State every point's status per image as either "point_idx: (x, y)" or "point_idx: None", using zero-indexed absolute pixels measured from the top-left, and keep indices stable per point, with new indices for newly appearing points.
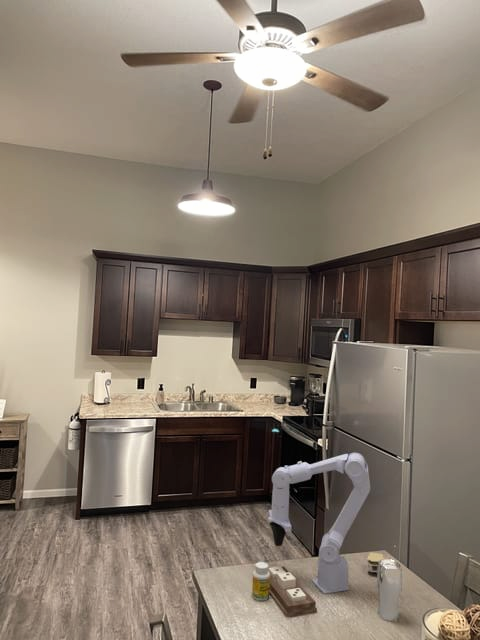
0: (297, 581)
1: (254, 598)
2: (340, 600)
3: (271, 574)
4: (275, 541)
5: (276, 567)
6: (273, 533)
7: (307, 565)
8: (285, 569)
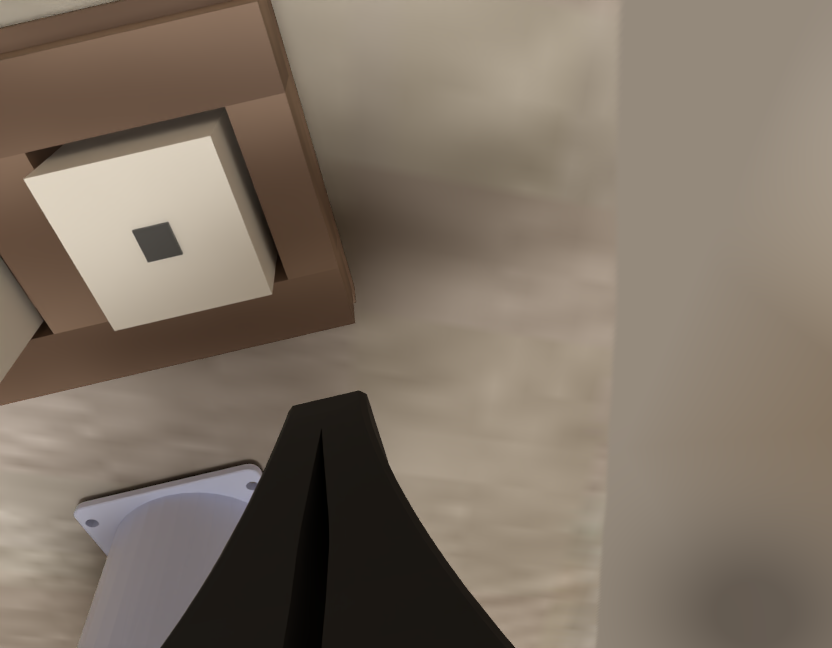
0: (38, 396)
1: None
2: (20, 566)
3: (101, 151)
4: (288, 453)
5: (234, 246)
6: (371, 551)
7: (506, 462)
8: (286, 326)
